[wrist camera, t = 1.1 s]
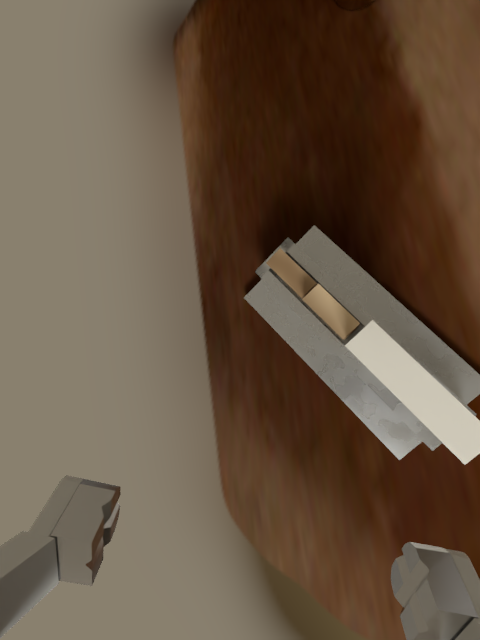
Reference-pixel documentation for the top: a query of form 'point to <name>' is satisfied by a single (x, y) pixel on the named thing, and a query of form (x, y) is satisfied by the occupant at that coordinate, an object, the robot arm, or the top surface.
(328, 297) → the tall offcut
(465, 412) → the tall panel
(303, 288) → the short offcut
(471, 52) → the top surface
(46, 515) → the robot arm
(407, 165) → the top surface
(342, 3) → the beer glass
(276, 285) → the slot rack
